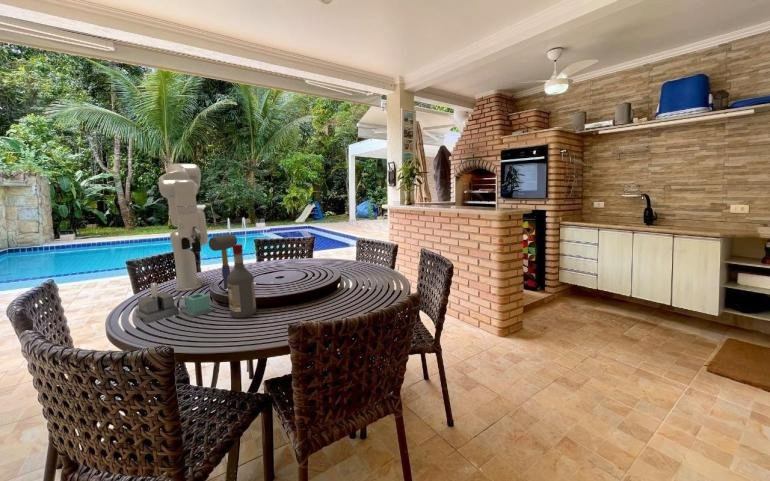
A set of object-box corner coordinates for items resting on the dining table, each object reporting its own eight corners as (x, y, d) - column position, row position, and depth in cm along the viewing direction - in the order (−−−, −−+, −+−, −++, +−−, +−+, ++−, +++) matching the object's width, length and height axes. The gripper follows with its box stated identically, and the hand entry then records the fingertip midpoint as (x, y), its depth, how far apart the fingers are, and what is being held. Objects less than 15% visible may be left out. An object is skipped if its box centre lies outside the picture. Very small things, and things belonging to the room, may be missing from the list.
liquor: (249, 308, 158) (243, 242, 153) (258, 313, 151) (252, 245, 146) (228, 314, 151) (221, 245, 146) (237, 319, 145) (230, 248, 140)
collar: (202, 305, 160) (200, 292, 159) (210, 308, 155) (208, 295, 154) (186, 310, 154) (184, 297, 153) (193, 313, 150) (192, 300, 149)
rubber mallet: (223, 297, 174) (217, 237, 169) (212, 295, 177) (206, 236, 172) (242, 289, 185) (237, 233, 180) (232, 288, 188) (227, 232, 183)
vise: (178, 304, 164) (174, 275, 162) (190, 310, 157) (186, 279, 154) (136, 316, 151) (132, 284, 149) (147, 322, 144) (143, 289, 141)
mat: (204, 306, 162) (204, 304, 162) (215, 310, 156) (215, 308, 156) (181, 312, 154) (181, 310, 154) (192, 317, 148) (191, 315, 148)
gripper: (168, 209, 150) (173, 249, 153) (187, 211, 139) (191, 254, 142) (186, 208, 155) (191, 246, 158) (206, 210, 145) (210, 251, 148)
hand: (191, 250), depth 150 cm, fingers open, 9 cm apart
